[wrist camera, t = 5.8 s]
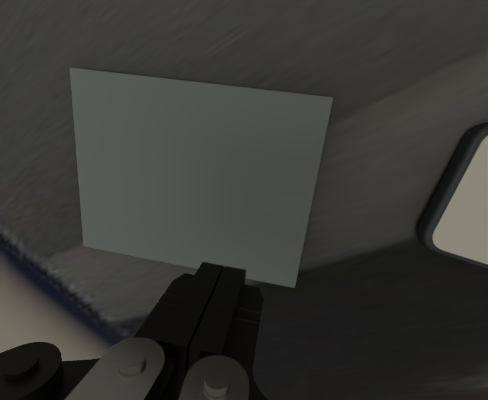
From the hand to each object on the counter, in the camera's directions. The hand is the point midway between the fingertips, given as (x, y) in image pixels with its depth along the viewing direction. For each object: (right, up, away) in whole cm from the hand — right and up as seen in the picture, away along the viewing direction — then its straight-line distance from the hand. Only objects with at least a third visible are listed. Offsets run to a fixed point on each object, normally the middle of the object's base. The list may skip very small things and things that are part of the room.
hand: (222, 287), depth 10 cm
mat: (-3, +5, +12) cm, 13 cm away
